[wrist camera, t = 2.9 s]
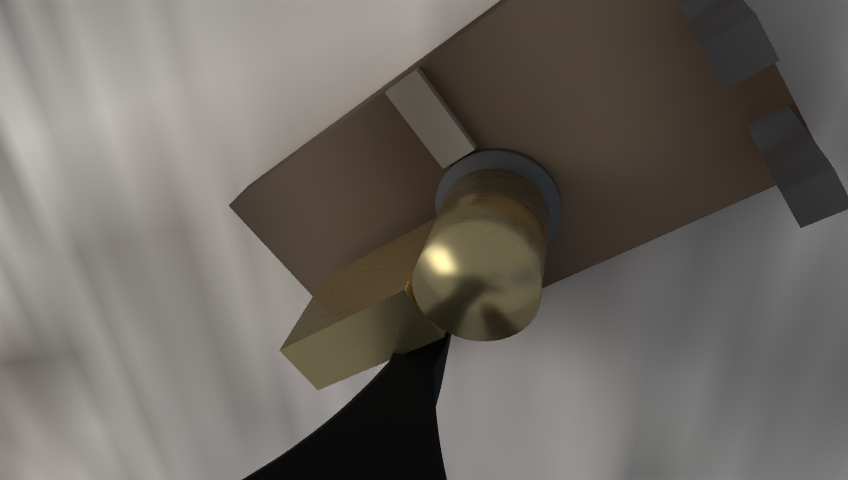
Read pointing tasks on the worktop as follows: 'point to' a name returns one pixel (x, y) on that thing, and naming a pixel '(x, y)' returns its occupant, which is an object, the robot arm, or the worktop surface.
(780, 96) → the plate
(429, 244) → the bar
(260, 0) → the worktop surface
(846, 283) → the worktop surface
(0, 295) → the worktop surface
